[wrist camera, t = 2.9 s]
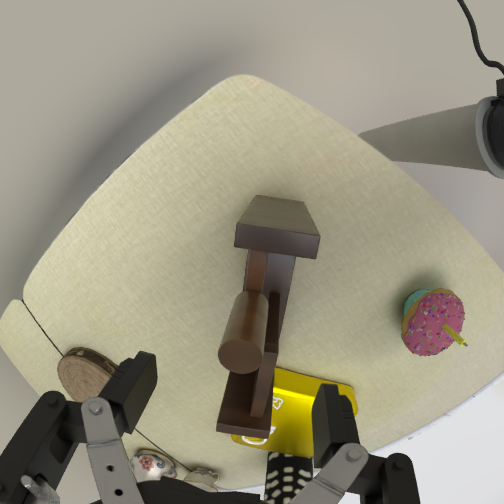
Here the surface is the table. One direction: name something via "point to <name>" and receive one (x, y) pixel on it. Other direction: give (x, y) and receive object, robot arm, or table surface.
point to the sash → (247, 321)
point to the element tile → (293, 414)
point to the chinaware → (169, 470)
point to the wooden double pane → (276, 291)
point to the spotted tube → (286, 477)
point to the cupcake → (432, 321)
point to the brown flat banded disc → (84, 373)
